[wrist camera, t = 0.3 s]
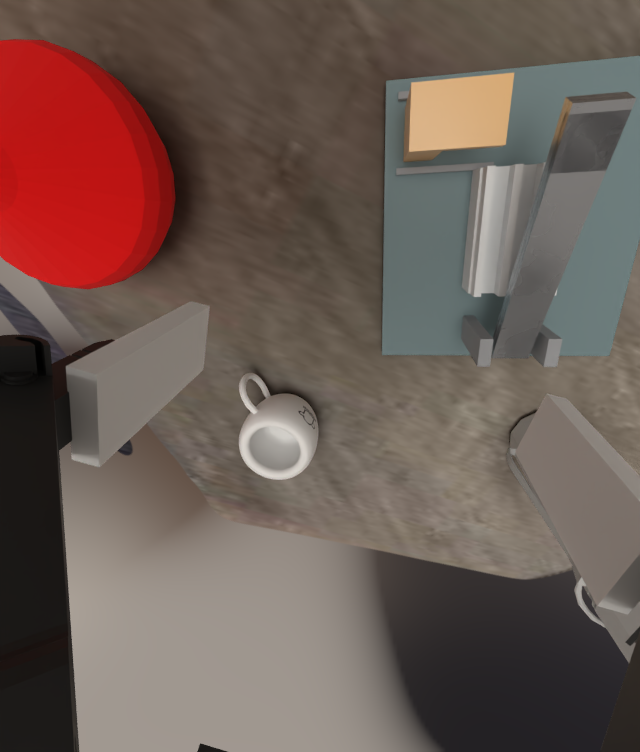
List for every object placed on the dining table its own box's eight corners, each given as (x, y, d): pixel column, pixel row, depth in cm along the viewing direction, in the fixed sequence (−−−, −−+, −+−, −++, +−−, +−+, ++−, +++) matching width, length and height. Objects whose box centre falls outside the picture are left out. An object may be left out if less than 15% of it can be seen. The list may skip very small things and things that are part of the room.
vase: (209, 94, 36) (46, -10, 18) (197, 290, 43) (74, 348, 26) (21, 55, 37) (-302, -79, 19) (42, 254, 44) (-176, 287, 27)
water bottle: (589, 412, 43) (825, 649, 20) (559, 469, 46) (734, 730, 23) (503, 395, 43) (638, 606, 20) (480, 453, 46) (574, 691, 24)
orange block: (405, 107, 33) (411, 82, 26) (485, 100, 32) (514, 72, 25) (403, 162, 34) (408, 151, 27) (480, 157, 33) (505, 144, 27)
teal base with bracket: (385, 85, 34) (387, 47, 25) (674, 57, 30) (782, 4, 22) (381, 350, 43) (382, 384, 35) (601, 350, 40) (658, 388, 32)
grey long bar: (565, 96, 21) (572, 103, 20) (627, 91, 21) (636, 97, 20) (489, 348, 35) (491, 358, 34) (524, 348, 35) (528, 358, 34)
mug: (336, 427, 48) (328, 466, 41) (280, 454, 51) (264, 495, 44) (281, 347, 45) (262, 374, 38) (225, 379, 47) (197, 410, 40)
